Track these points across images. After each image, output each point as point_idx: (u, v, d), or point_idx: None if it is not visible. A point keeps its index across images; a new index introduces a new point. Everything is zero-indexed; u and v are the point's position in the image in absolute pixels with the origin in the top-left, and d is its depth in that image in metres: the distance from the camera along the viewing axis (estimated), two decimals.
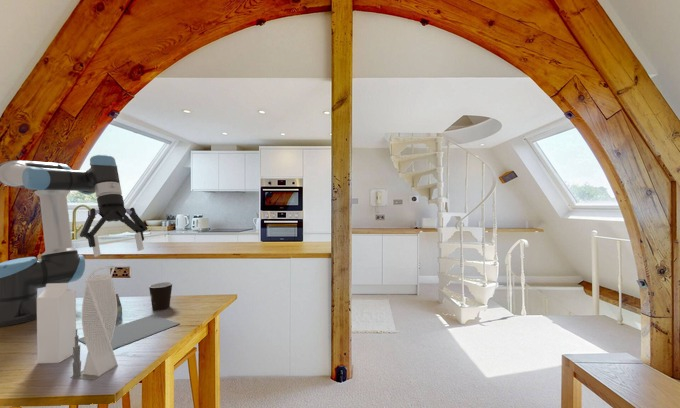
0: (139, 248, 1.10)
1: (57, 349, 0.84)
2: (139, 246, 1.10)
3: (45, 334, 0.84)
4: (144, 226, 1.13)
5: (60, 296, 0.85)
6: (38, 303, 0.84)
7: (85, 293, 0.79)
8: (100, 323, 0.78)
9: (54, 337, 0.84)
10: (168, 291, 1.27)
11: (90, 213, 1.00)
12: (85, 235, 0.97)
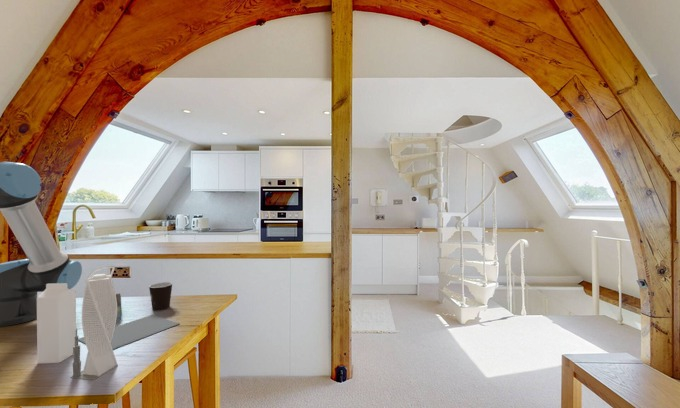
0: None
1: (57, 349, 0.84)
2: None
3: (45, 334, 0.84)
4: None
5: (60, 296, 0.85)
6: (38, 303, 0.84)
7: (85, 293, 0.79)
8: (100, 323, 0.78)
9: (54, 337, 0.84)
10: (168, 291, 1.27)
11: None
12: None
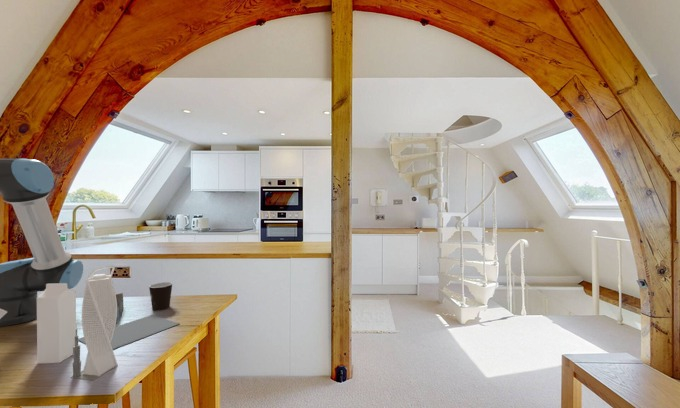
0: None
1: (57, 349, 0.84)
2: None
3: (45, 334, 0.84)
4: None
5: (60, 296, 0.85)
6: (38, 303, 0.84)
7: (85, 293, 0.79)
8: (100, 323, 0.78)
9: (54, 337, 0.84)
10: (168, 291, 1.27)
11: None
12: None
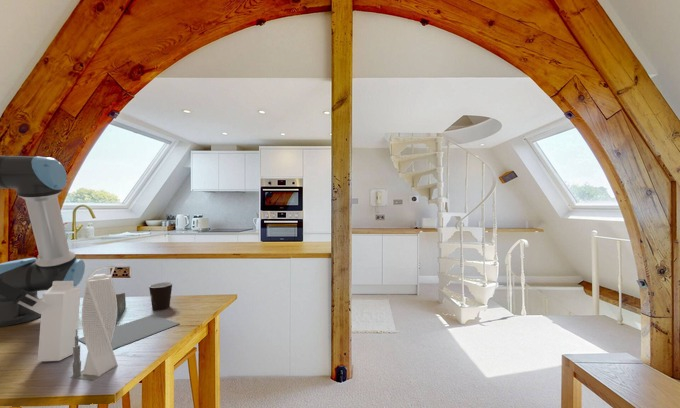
0: None
1: (58, 346, 0.85)
2: None
3: (48, 331, 0.85)
4: (11, 299, 0.76)
5: (66, 292, 0.87)
6: (44, 299, 0.85)
7: (85, 293, 0.79)
8: (100, 323, 0.78)
9: (56, 334, 0.85)
10: (168, 291, 1.27)
11: None
12: None
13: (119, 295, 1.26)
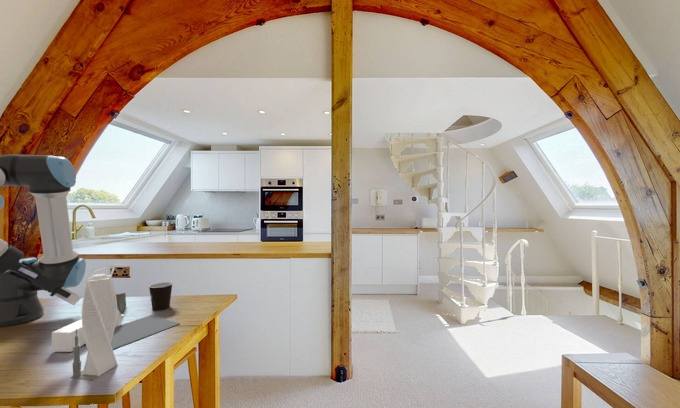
0: None
1: (81, 326, 0.94)
2: None
3: None
4: (50, 291, 0.83)
5: (118, 311, 1.09)
6: None
7: (85, 293, 0.79)
8: (100, 323, 0.78)
9: None
10: (168, 291, 1.27)
11: None
12: None
13: (119, 295, 1.26)
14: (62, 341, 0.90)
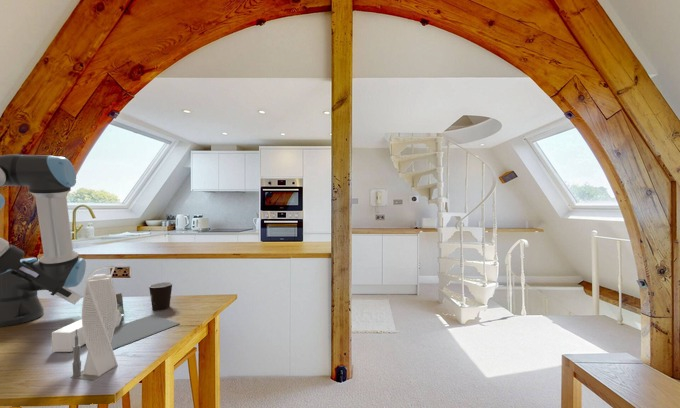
0: None
1: (81, 326, 0.94)
2: None
3: None
4: (51, 290, 0.83)
5: (118, 311, 1.09)
6: None
7: (85, 293, 0.79)
8: (100, 323, 0.78)
9: None
10: (168, 291, 1.27)
11: None
12: None
13: (117, 295, 1.25)
14: (62, 341, 0.90)
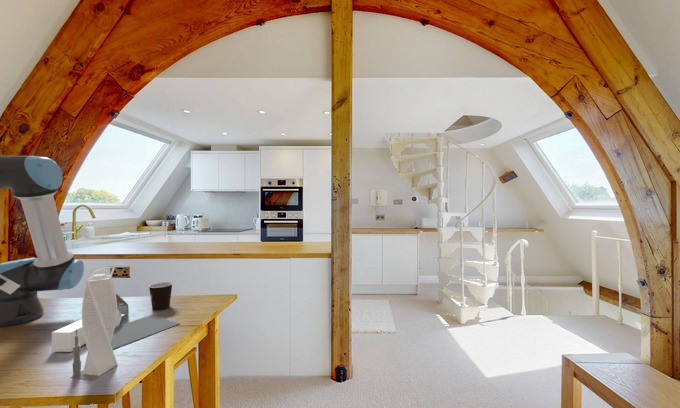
0: None
1: (81, 326, 0.94)
2: None
3: None
4: None
5: (118, 311, 1.09)
6: None
7: (85, 293, 0.79)
8: (100, 323, 0.78)
9: None
10: (168, 291, 1.27)
11: None
12: None
13: None
14: (62, 341, 0.90)
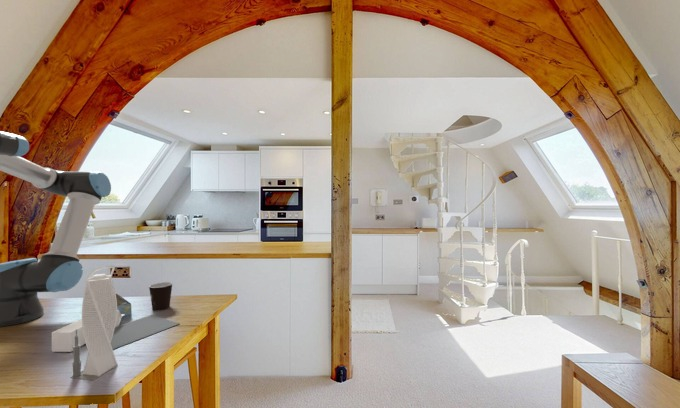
0: None
1: (81, 326, 0.94)
2: None
3: None
4: None
5: (118, 312, 1.09)
6: None
7: (85, 293, 0.79)
8: (100, 323, 0.78)
9: None
10: (168, 291, 1.27)
11: None
12: None
13: None
14: (62, 341, 0.90)
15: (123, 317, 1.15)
